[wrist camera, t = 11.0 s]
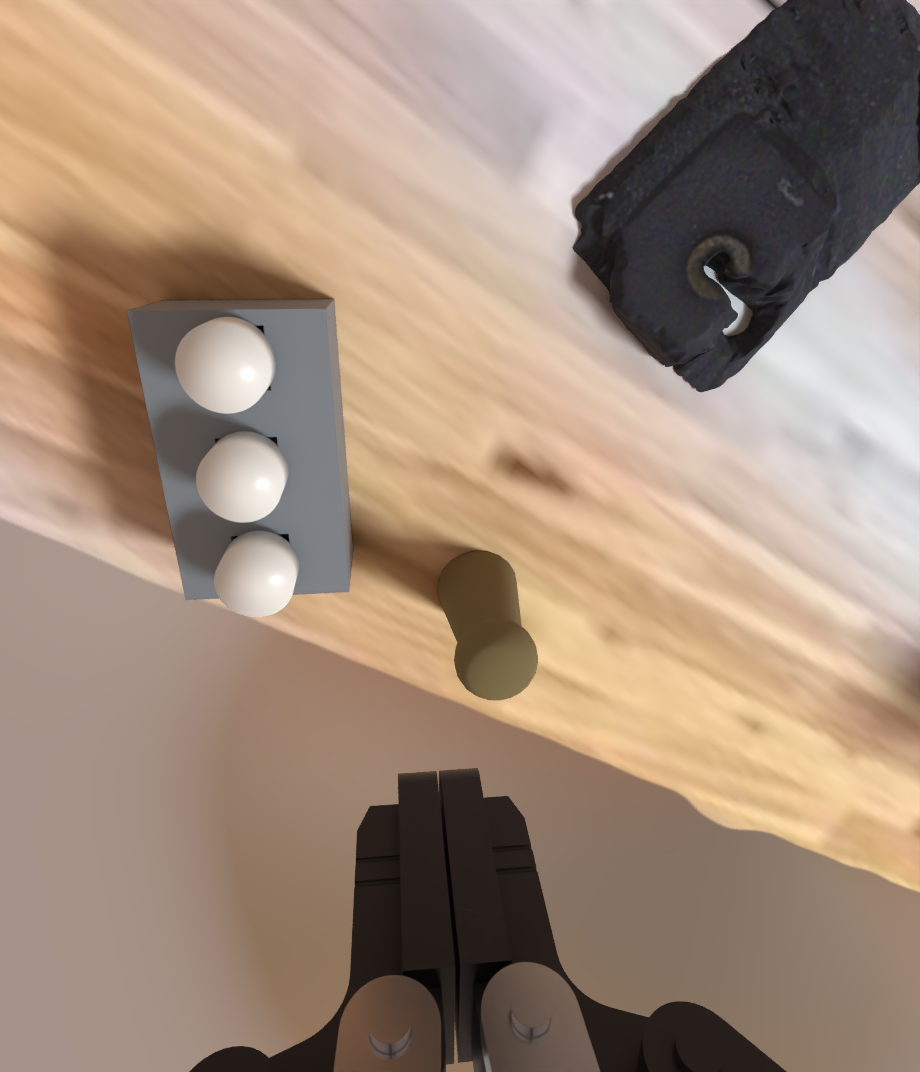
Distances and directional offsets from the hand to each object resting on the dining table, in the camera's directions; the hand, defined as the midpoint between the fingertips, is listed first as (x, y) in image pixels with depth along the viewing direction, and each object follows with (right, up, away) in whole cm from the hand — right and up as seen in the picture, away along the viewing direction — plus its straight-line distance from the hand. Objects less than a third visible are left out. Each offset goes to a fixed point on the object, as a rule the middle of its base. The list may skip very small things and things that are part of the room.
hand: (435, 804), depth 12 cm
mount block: (-12, +11, +30) cm, 35 cm away
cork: (+2, +1, +37) cm, 37 cm away
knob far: (-12, +6, +32) cm, 35 cm away
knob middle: (-12, +11, +30) cm, 34 cm away
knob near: (-12, +17, +27) cm, 34 cm away
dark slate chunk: (+19, +26, +28) cm, 43 cm away
